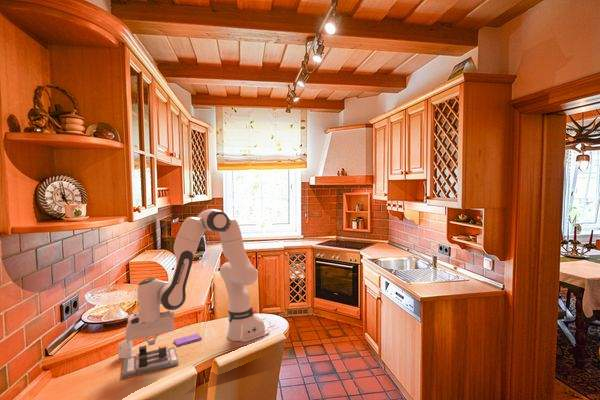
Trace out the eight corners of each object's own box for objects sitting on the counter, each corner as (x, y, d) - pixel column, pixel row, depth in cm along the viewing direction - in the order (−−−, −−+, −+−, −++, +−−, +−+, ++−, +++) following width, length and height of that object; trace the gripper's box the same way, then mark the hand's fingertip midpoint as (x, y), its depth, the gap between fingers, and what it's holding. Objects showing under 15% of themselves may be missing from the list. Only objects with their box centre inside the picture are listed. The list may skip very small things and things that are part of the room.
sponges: (201, 340, 169) (201, 337, 169) (177, 347, 161) (177, 344, 161) (197, 336, 174) (197, 332, 174) (173, 343, 167) (173, 339, 167)
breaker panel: (174, 350, 158) (174, 338, 158) (178, 364, 143) (177, 351, 143) (123, 361, 148) (123, 348, 148) (122, 378, 134) (121, 364, 134)
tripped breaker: (165, 354, 150) (165, 344, 150) (166, 357, 147) (166, 346, 147) (158, 356, 149) (158, 345, 149) (159, 359, 146) (158, 348, 146)
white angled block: (140, 352, 151) (130, 337, 151) (121, 364, 151) (111, 348, 151) (143, 348, 155) (133, 333, 155) (125, 360, 155) (116, 344, 154)
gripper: (173, 307, 153) (175, 336, 154) (124, 317, 144) (126, 347, 145) (174, 312, 148) (176, 341, 148) (124, 322, 139) (126, 353, 139)
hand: (151, 344), depth 146 cm, fingers closed
